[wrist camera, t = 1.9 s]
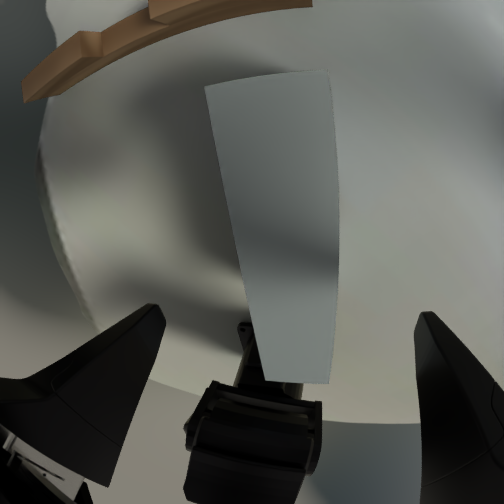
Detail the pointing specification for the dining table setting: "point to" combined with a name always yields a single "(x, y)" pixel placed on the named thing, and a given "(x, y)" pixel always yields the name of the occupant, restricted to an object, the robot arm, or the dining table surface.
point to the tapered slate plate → (283, 213)
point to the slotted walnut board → (134, 39)
